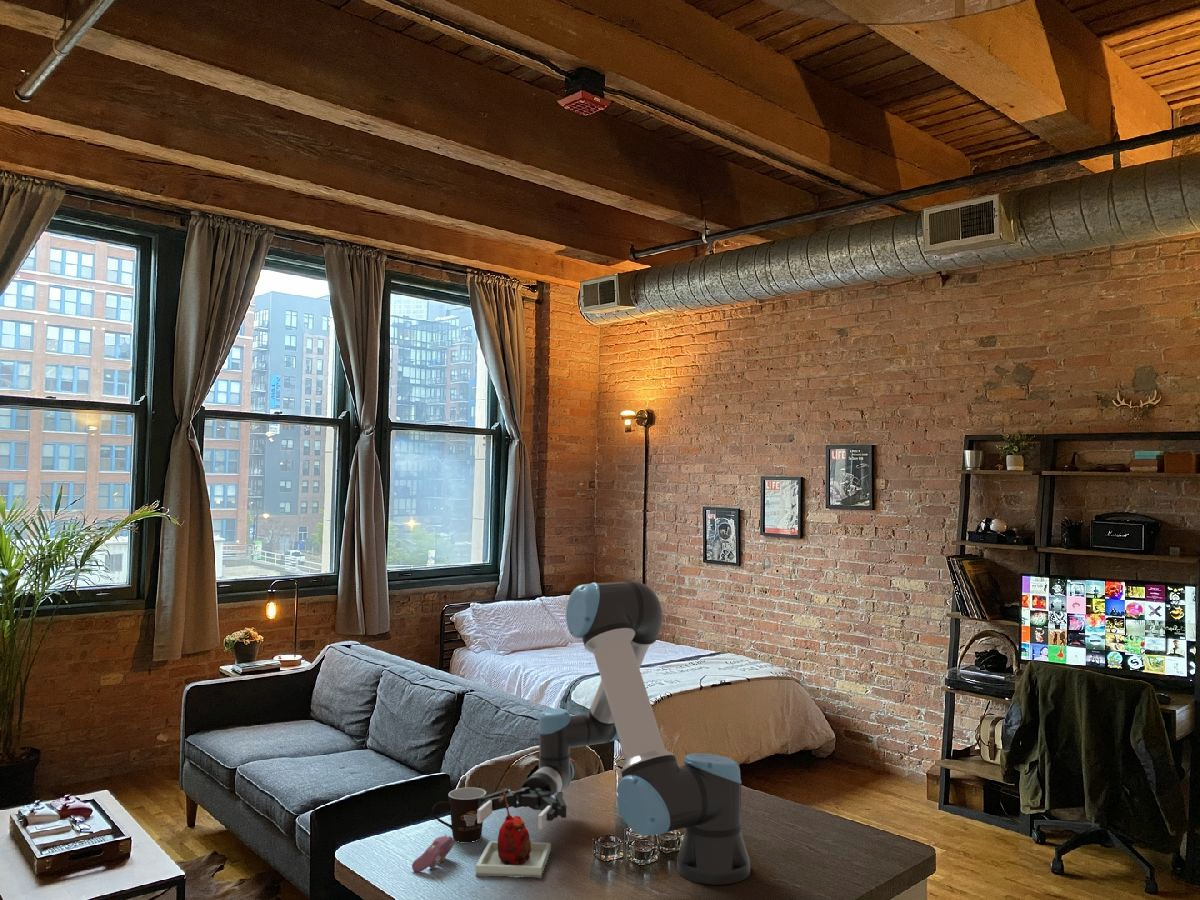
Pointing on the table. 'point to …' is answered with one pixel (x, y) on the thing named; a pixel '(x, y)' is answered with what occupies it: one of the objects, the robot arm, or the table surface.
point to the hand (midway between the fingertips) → (509, 819)
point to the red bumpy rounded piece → (513, 839)
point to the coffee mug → (463, 813)
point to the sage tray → (495, 867)
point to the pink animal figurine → (434, 853)
